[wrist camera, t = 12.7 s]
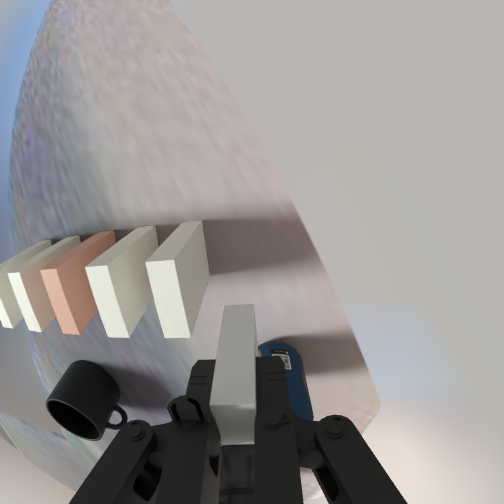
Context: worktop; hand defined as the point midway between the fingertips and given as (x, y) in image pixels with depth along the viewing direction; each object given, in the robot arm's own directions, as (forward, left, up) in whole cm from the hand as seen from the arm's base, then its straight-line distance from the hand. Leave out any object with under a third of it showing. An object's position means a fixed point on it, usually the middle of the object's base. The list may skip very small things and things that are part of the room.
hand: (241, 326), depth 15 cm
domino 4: (0, +10, -15) cm, 18 cm away
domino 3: (0, +15, -15) cm, 21 cm away
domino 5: (0, +5, -15) cm, 16 cm away
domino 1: (0, +25, -15) cm, 29 cm away
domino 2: (0, +20, -15) cm, 25 cm away
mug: (-21, +25, -15) cm, 36 cm away
